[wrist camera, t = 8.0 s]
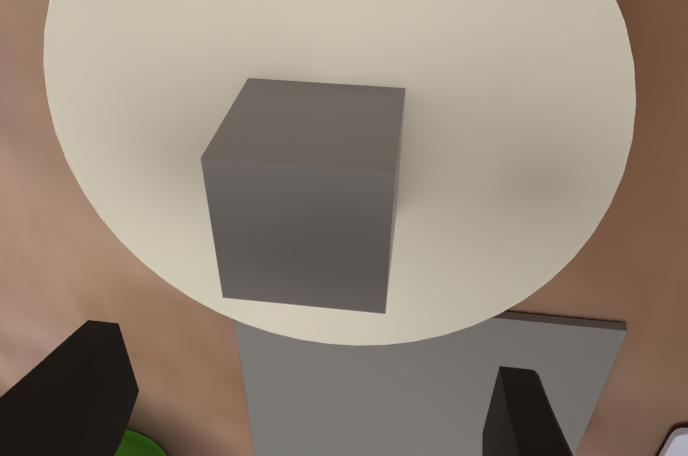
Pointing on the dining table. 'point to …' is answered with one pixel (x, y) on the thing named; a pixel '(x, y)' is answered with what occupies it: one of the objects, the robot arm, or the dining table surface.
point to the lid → (346, 150)
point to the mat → (417, 386)
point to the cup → (138, 446)
